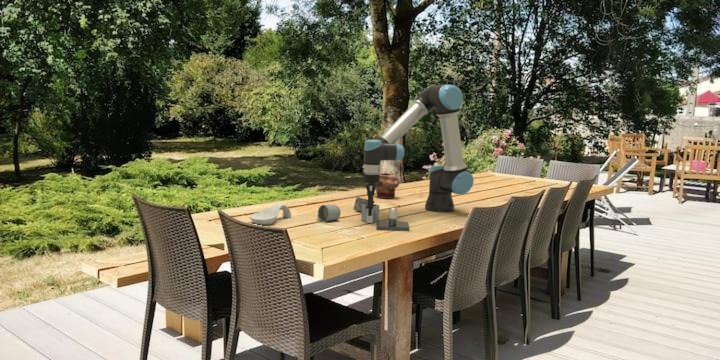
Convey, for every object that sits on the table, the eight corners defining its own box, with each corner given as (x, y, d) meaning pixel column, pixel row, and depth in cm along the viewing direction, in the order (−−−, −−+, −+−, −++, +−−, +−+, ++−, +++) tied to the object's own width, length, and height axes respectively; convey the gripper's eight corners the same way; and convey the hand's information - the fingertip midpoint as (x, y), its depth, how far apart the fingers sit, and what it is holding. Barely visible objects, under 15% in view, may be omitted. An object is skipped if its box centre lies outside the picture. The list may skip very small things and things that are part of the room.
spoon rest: (266, 228, 240) (266, 211, 239) (244, 224, 245) (244, 208, 244) (297, 219, 261) (297, 203, 260) (276, 216, 266) (276, 201, 265)
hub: (378, 218, 266) (379, 204, 265) (378, 222, 258) (379, 207, 257) (361, 218, 266) (362, 203, 265) (361, 221, 258) (361, 206, 257)
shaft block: (407, 225, 254) (408, 206, 253) (409, 231, 242) (410, 211, 241) (376, 224, 254) (377, 205, 253) (376, 229, 242) (377, 210, 241)
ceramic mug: (341, 220, 259) (341, 204, 258) (328, 223, 253) (328, 206, 252) (326, 217, 266) (326, 201, 266) (312, 219, 261) (313, 203, 260)
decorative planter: (363, 196, 329) (363, 173, 328) (373, 194, 340) (374, 171, 338) (393, 200, 319) (394, 176, 317) (403, 198, 330) (404, 174, 328)
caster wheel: (378, 215, 288) (374, 216, 279) (357, 209, 291) (352, 209, 281) (381, 202, 288) (377, 202, 278) (361, 196, 291) (356, 196, 281)
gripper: (363, 170, 271) (362, 214, 274) (362, 176, 247) (360, 224, 250) (379, 170, 271) (377, 215, 274) (379, 177, 247) (377, 225, 250)
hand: (369, 219), depth 262 cm, fingers open, 12 cm apart
